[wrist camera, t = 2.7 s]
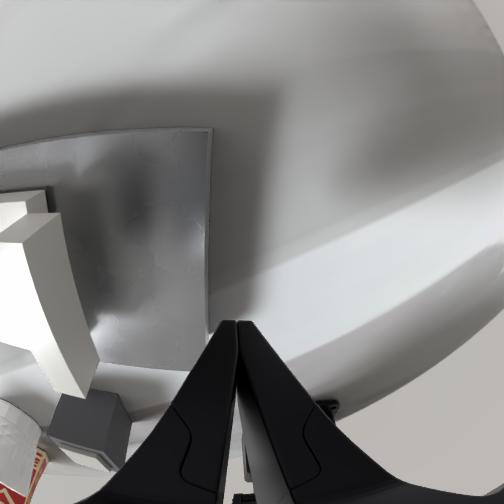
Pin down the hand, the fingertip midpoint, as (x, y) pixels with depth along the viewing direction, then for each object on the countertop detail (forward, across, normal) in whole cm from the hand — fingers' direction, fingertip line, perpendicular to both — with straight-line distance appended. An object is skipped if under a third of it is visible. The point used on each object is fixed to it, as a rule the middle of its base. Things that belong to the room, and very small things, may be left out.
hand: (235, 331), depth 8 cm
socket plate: (+5, +10, 0) cm, 11 cm away
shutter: (+2, +9, 0) cm, 10 cm away
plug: (+5, +10, +14) cm, 18 cm away
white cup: (+5, +25, +23) cm, 34 cm away
